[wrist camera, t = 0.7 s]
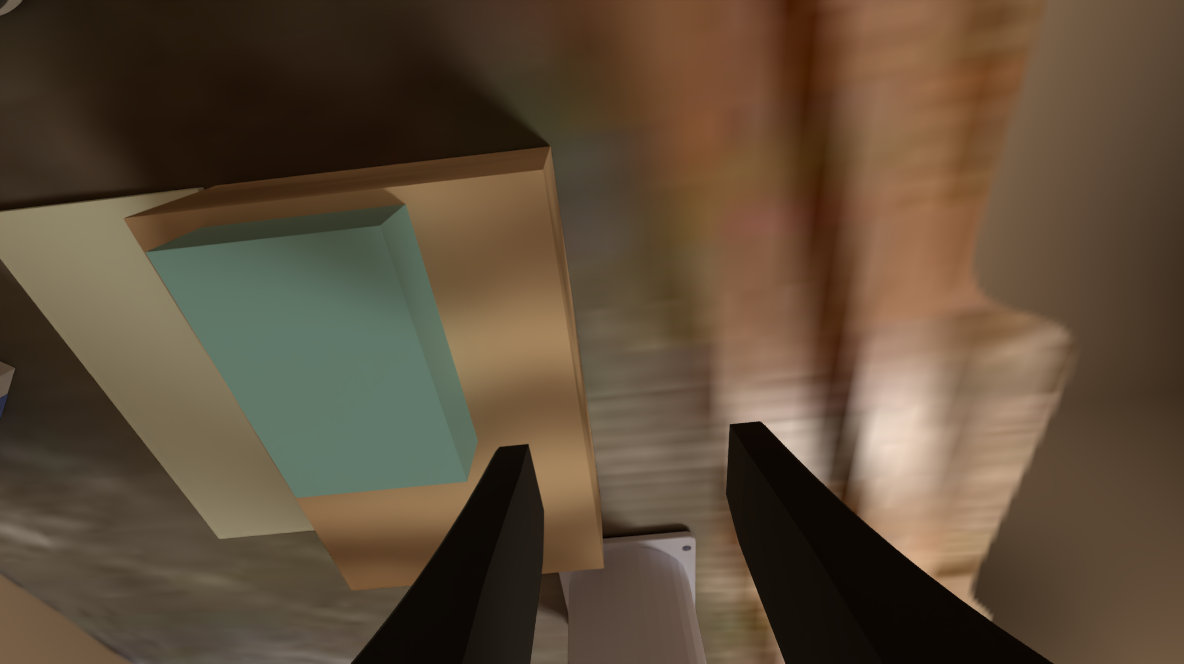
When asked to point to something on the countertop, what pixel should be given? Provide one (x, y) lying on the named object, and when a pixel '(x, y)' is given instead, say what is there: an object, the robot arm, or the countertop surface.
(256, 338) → the sage green box
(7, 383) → the walkman
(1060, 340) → the countertop surface
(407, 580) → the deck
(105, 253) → the mat
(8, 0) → the supplement bottle
